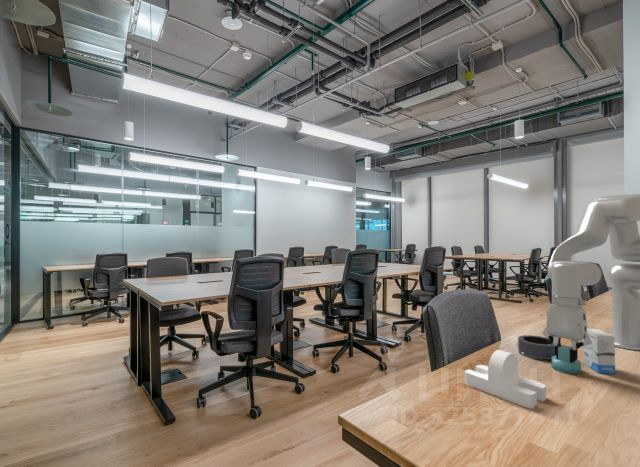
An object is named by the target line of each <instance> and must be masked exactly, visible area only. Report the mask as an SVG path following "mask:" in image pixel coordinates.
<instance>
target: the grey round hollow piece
mask: <svg viewBox="0 0 640 467" xmlns="http://www.w3.org/2000/svg"><path fill="white" fill-rule="evenodd" d="M517 349H518V354H520V355H521V356H524V357H526V358H530V359H534V360H540V361H549V362H550V361H552V356H556V355H555V346H554V345H553V343H552V342H551V341H550V339H549V338H547V337H546V336H545V337H544V336H539V335H533V334H532V335H531V334H528V335H526V334H524V335H519V336H518V337H517Z"/></svg>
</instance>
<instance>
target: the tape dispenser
mask: <svg viewBox="0 0 640 467" xmlns="http://www.w3.org/2000/svg"><path fill="white" fill-rule="evenodd" d="M518 361H519V360H518V358H517V356H516V354H515V353H514V352H513V353H512V352H508V351H505V350H501V349H496V350H495V351H494V352H492V355H491V356H490V359H489V361H488V366H487V365H484V364H478V365H476V366H475V367H474V368H475V370H472V369H470V368H469V369H466V370H465V371H464V385H466V386H469V387H472V388H474V389H477V390H480V391H482V392H485V393H488V394H490V395H493V396H495V397H498V398H501V399H504V400H506V401H509V402H512V403H514V404H516V403H517V405H519V406H521V407H522V406H523V407H524V408H528V409H534V408H535V406H536V407H537V406H538V401H541V402H544V401H546V400H547V385H545V384H544V383H541V382H538V381H535V380H531V379H529V378H525V377H522V376H519V362H518Z"/></svg>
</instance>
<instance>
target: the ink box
mask: <svg viewBox="0 0 640 467" xmlns="http://www.w3.org/2000/svg"><path fill="white" fill-rule="evenodd" d="M587 329H588V336H589V338H590V339H591V341H592V344H590V345H585V346H582V347H583V348H582V349H583V352H582V353H583V364H584V365H585V366H587V367H589V368H590V369H592V370H593V371H595V372H597V373H598V374H610V375H611V374H612V375H615V374H616V355H615V354H616V352H615V347H616V346H614V336H612V334H609V333H608V332H605V331H604V330H601V329H597V328H587ZM582 341H584V339H583V340H582Z"/></svg>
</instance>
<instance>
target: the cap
mask: <svg viewBox="0 0 640 467" xmlns="http://www.w3.org/2000/svg"><path fill="white" fill-rule="evenodd" d="M561 345H562V346H560V347H558V359H556V356H552V360H551V368H552V369H553V370H555V371H557V372H560V373H563V374H568V375H569V374H570V375H579V374H581V373H582V363H581V361H580V360H579V359H577V360H576V361H575V362H573V363H571V362H570V350H571V347H572V346H571V345H565V344H561Z"/></svg>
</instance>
